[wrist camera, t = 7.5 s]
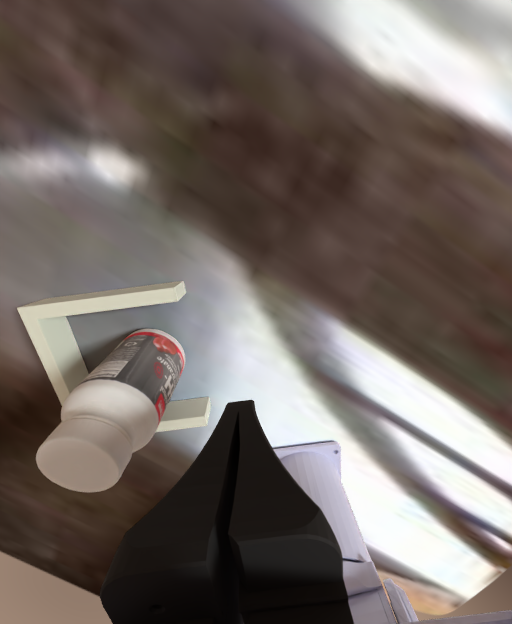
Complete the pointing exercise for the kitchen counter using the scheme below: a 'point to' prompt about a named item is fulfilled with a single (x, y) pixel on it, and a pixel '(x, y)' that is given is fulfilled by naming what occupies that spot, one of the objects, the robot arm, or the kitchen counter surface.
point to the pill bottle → (113, 412)
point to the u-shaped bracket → (66, 355)
